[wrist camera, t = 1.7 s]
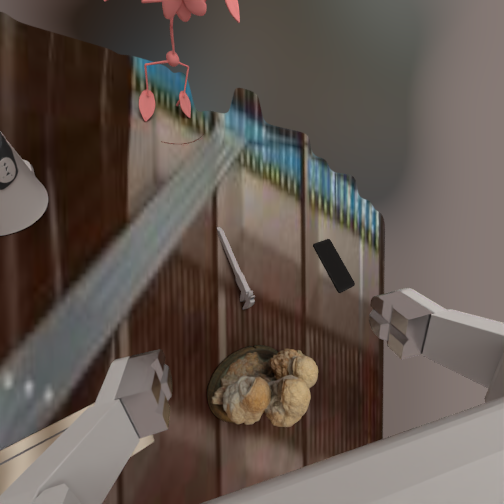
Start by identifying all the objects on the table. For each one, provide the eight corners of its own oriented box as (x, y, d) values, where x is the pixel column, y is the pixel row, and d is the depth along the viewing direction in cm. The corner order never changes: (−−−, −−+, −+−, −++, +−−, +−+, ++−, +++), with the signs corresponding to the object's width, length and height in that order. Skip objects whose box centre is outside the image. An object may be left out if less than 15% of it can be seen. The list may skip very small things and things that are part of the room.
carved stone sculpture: (272, 330, 52) (321, 318, 38) (297, 383, 49) (360, 393, 35) (195, 373, 43) (221, 379, 29) (221, 442, 40) (263, 486, 26)
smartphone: (339, 293, 63) (313, 244, 66) (337, 294, 63) (311, 245, 67) (356, 284, 66) (329, 238, 69) (353, 285, 67) (327, 239, 70)
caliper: (246, 309, 52) (258, 302, 47) (242, 310, 51) (253, 304, 46) (219, 227, 58) (227, 214, 52) (215, 228, 57) (222, 214, 52)
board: (-77, 587, 25) (-90, 599, 24) (-86, 494, 27) (-98, 500, 26) (154, 438, 37) (154, 441, 36) (136, 381, 39) (135, 382, 38)
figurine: (107, 102, 59) (72, -150, 30) (201, 103, 72) (241, -71, 43) (129, 150, 56) (113, -75, 27) (222, 143, 70) (281, -14, 40)
